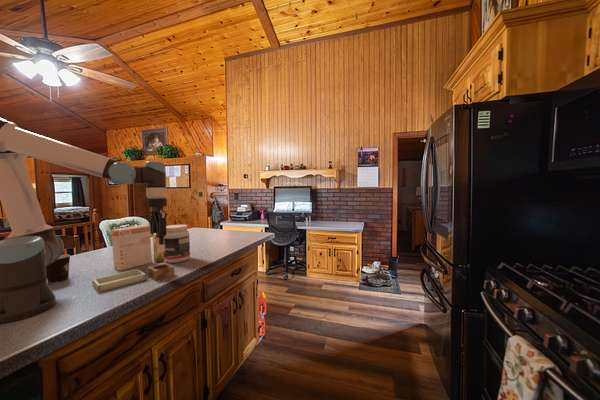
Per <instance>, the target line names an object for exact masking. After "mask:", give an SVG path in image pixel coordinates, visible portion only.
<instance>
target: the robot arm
mask: <svg viewBox="0 0 600 400" xmlns="http://www.w3.org/2000/svg"><path fill="white" fill-rule="evenodd" d="M28 157H30V158H33V159H37V160H41V161H43V162H44V161H45V162H47V163H51V164H53V165H56V166H61V167H65V168H69V169H71V170H75V171H79V172H82V173H84V174H87V175H92V176H96V177H99V178H103V179H106V180H108V181H111V183H112V184H113V185H145V186H146V187H145V190H146V191H145V193H146V198H147V199H146V207H147V208H151V211H149V212H148V214H149V226H150V235H151V236H153V233H157V234H158V236H156V238H157V252H164V251H165V245H164V236H166V226H167V215H168V214H167V212H165V211H164V208H165V207H167V206H168V199H167V198H166V197H167V192H168V190H167V173H166V164H165V163H164V162H163V161H162V162H161V161H145V163H144V165H143V166H142V165H141V166H139V165H131V164H130V163H128V162H126V161H120V160H118V159H114V158H110V157H107V156H105V155H102V154H98V153H96V152H92V151H89V150H87V149H84V148H80V147H77V146H75V145H71V144H68V143H65V142H61V141H59V140H56V139H53V138H50V137H46V136H45V135H40V134H37V133H34V132H31V131H28V130H25V129H22V127H20V126H19V125H18V124H16V123H14V122H12V121H11V120H8V119H5V118H2V117H0V202H1V205H2V207H3V210H4V212H5V216H6V219H7V221H8V224H9V226H10V229H11V232H10V234H9V235H7V239H6V238H5V239H2V240H0V324H5V323H12V322H16V321H19V320H23V319H27V318H30V317H33V316H36V315H40V314H41V313H44V312H46V311H48V310H50V309H51V308H53V307H54V306H55V305H56V304H57V300H56V295H55V294H54V292H53V290H52V288H51V287H50V285H49V283H48V281H47V277H46V266H48V265H50V264H51V263H53V262H55V261H56V260H57V259H58V258H59V257H60V255H63V252H64V250H65V249H64V248H65V244H64V241H63V240H62V239H61V238H60V237H59V236H58V235H57V234H56V233H55V229H54V227H53V226H51V225H49V224H47V223H46V220H45V217H44V214H43V211H42V209H41V205H40V202H39V200H38V197H37V193H36V191H35V188H34V185H33V181H32V178H31V177H30V174H29V171H28V168H27V165H26V161H25V160H26V159H27V158H28ZM152 247H153V252H154V245H153V244H152Z"/></svg>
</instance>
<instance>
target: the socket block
mask: <svg viewBox="0 0 600 400" xmlns="http://www.w3.org/2000/svg"><path fill="white" fill-rule="evenodd" d="M172 276H175V266H174V265H173V264H171V263H168V262H164V263H160V264H155V265H153V266H152V265H151V266H148V267H147V277H148V278H150V279H151V280H154V281H158V280H161V279H165V278H170V277H172Z"/></svg>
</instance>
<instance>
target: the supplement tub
mask: <svg viewBox="0 0 600 400" xmlns="http://www.w3.org/2000/svg"><path fill="white" fill-rule="evenodd" d="M164 245H165V251H164V258H165V262H164V263H168V264H176V263H182V262H185V261H187V260H189V259H190V258H191V248H190V247H191V246H190V245H191V244H190V232H189V230H188V224H172V225H166V236H164Z"/></svg>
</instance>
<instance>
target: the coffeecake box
mask: <svg viewBox="0 0 600 400" xmlns="http://www.w3.org/2000/svg"><path fill="white" fill-rule="evenodd" d="M150 232H151V231H150V225H146V224H142V225H135V226H134V225H133V226H127V227H120V228H113V229H111V244H112V245H111V247H112V258H113V259H112V260H113V269H114V270H117V271H123V270H127V269H131V268H135V267H138V266H143V265H148V264H151V263H153V256H152V245H151V244H152V243H151V233H150Z"/></svg>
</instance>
